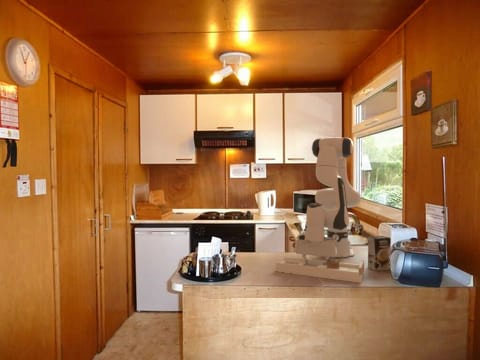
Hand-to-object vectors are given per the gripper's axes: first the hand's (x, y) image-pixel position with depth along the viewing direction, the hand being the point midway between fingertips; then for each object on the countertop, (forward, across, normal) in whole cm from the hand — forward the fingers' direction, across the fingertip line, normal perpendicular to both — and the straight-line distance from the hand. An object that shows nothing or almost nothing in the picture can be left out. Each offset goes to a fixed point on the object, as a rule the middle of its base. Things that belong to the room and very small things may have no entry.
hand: (315, 264), depth 165 cm
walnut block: (+1, -8, 0) cm, 9 cm away
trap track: (+4, -2, 0) cm, 4 cm away
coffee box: (+4, -28, -20) cm, 34 cm away
